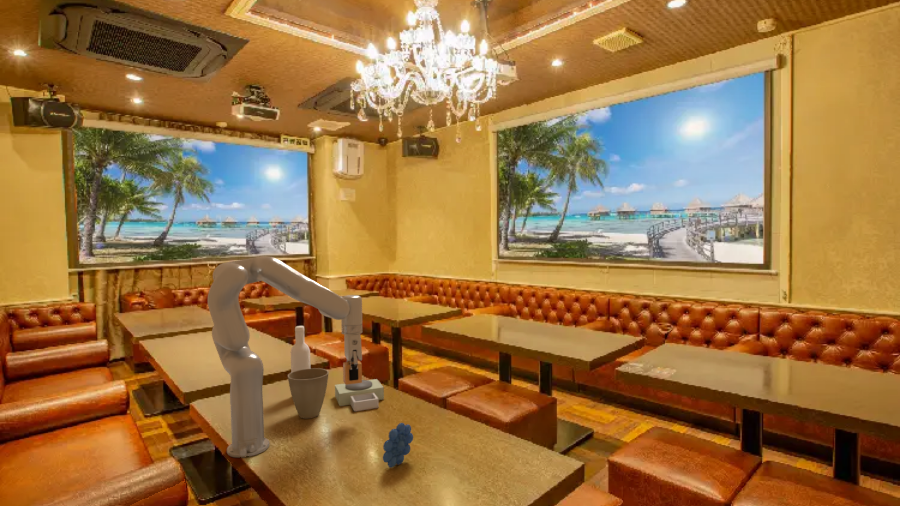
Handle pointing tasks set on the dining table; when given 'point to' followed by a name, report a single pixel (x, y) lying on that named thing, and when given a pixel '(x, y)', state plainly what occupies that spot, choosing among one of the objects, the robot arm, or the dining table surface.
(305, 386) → the plant pot
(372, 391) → the green box with tray
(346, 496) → the dining table surface
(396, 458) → the grapes
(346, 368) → the orange block
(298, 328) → the bottle
